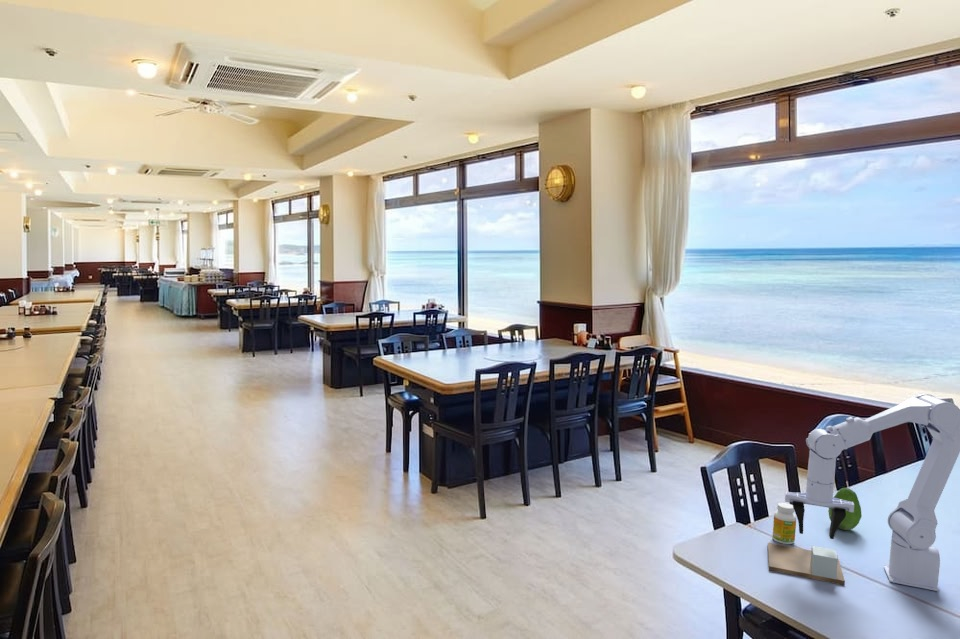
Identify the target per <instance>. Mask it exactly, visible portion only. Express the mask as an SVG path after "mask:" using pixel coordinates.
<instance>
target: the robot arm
mask: <svg viewBox="0 0 960 639" xmlns="http://www.w3.org/2000/svg"><path fill="white" fill-rule="evenodd" d="M845 420H846V421H843V422H840V423H838V424H835V425H833V426H832V425H828V426H826V427H825V429H823V428H822V429H821V428H819V429H818V428H817V429H813V430H812V431H811V432H810V433H809V434H808V436H807V438H805V442H806V445H807V447H808V449H809V451H808V452H809V454H808V455H809V456H808V465H807V475H806V486H805V487H806V488H805V492H791V491H785V494H784V503H792V504H791V505H793V508H794V514H795V515H796V520H797V523H798V532H799V534H800V535H803V534H804V519H805V505H809V506H810V505H811V506H816V507H823V508H828V509H829V508H832V511H831V520H830V526H829V534H828V535H829V538H830V540H834V539H835V535H836V532H837V530H838V529H839V528H838V526H839V525H840V523H841V522H842V521H843V519H844V518H845V516H846V512H845V511H846V510H847V511H849V512H854V503H853V502H850V501H845V500H841V499H837V498H834V491H835V490H834V488H835V477H836V476H835V474H836V465H837V458H838V456H840V455H841V453H842V451H844V450H846V449H849V448H851V447H854V446H857V445H860V444H862V443H865V442H868V441H870V440H871V438H872V436H873V434H874V433H877V432H880V431H883V430H886V429H889V428H893V427H896V426H900V425H902V424H905V423H913V424H914V423H915V424H918V425H923V426H925V427H926V429H927V431H928V432H929V433H930V435H931V436H932V441H931V444H930V446H929V448H928V451H927V453H926V455H925V458H924V460H923V462H922V465H921V467H920V469H919V471H918V473H917V476H916V478H915V481H914V483H913V486H912V488H911V490H910V492H909V495H908V498H906V499H903V500H901V501H899V503H898V504H897V507H896V508H895V509H893V510H892V511H891V512H890V514H889V515H888V517H887V524H888V527H889V528H890V530H892V533H891V541H890V552H889V560H888V562H889V563H888V565H884V566H883V569H884V572H885V573H886V576H887V578H888V580H889V582H890V583H894V584H899V585H904V586H909V587H915V588H918V589H919V588H920V589H925V590H928V591H929V590H931V591H935V592H938V591H939V587H938V586H939V579H940V578H939V575H940V567H941V558H940V552H939V549H938V547H937V546H933V545H934V544H935V542H936V539H937V535H936V530H937V526H938V519H937V516H936V513H935V510H936V508H937V504H938V502H940V501H939V500H940V498H941V497H942V496H941V495H942V493H943V491H944V489H945V487H946V484H947V483H948V480H949V478H950V476H951V473H952V472H953V469H954V466H955V465H956V462H957V459H958V458H959V455H960V408H959V407H958V406H957V405H956V404H955V403H953V402H949V401H946V400H943V399H941V398H938V397H936V396H935V395H932V394H929V393H923V394H919V395H917V396H915V397H910V398H907V399H906V400H904V401H903V402H901V403H900V404H899V403H898V404H897V405H894V406H893V407H890V408H888V409H886V410H883V411H881V412H879V413H877V414H874V415H871V416H870V417H868V418H865V419H863V418H861V417H852V416H849V417H846V418H845Z"/></svg>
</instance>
